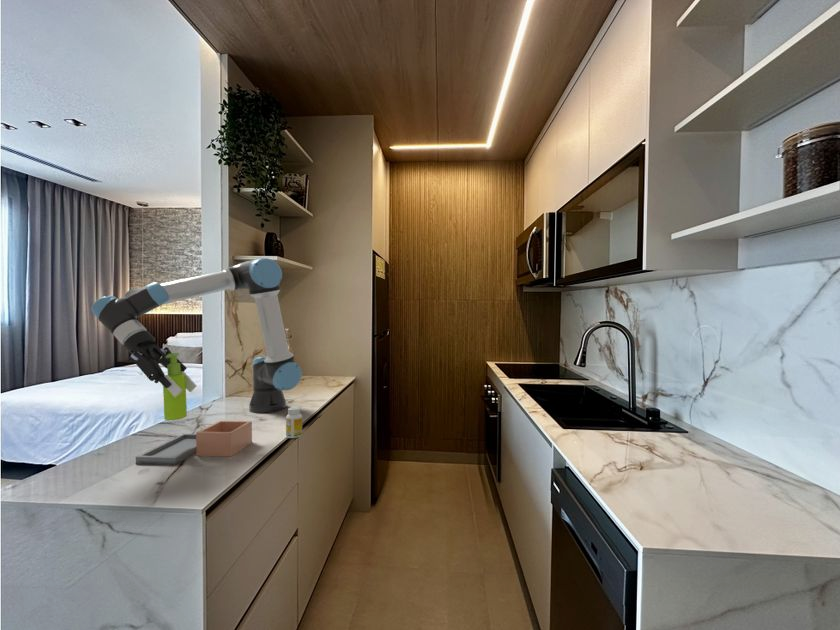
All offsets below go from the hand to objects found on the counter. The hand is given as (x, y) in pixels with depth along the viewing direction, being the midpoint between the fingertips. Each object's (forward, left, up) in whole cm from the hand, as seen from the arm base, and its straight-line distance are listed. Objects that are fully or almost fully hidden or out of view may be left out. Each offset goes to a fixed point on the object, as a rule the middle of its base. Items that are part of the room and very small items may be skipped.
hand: (186, 391), depth 118 cm
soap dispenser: (0, -4, -8) cm, 9 cm away
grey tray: (-1, -3, -19) cm, 19 cm away
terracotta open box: (-4, +10, -19) cm, 22 cm away
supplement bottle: (-17, +27, -19) cm, 37 cm away
